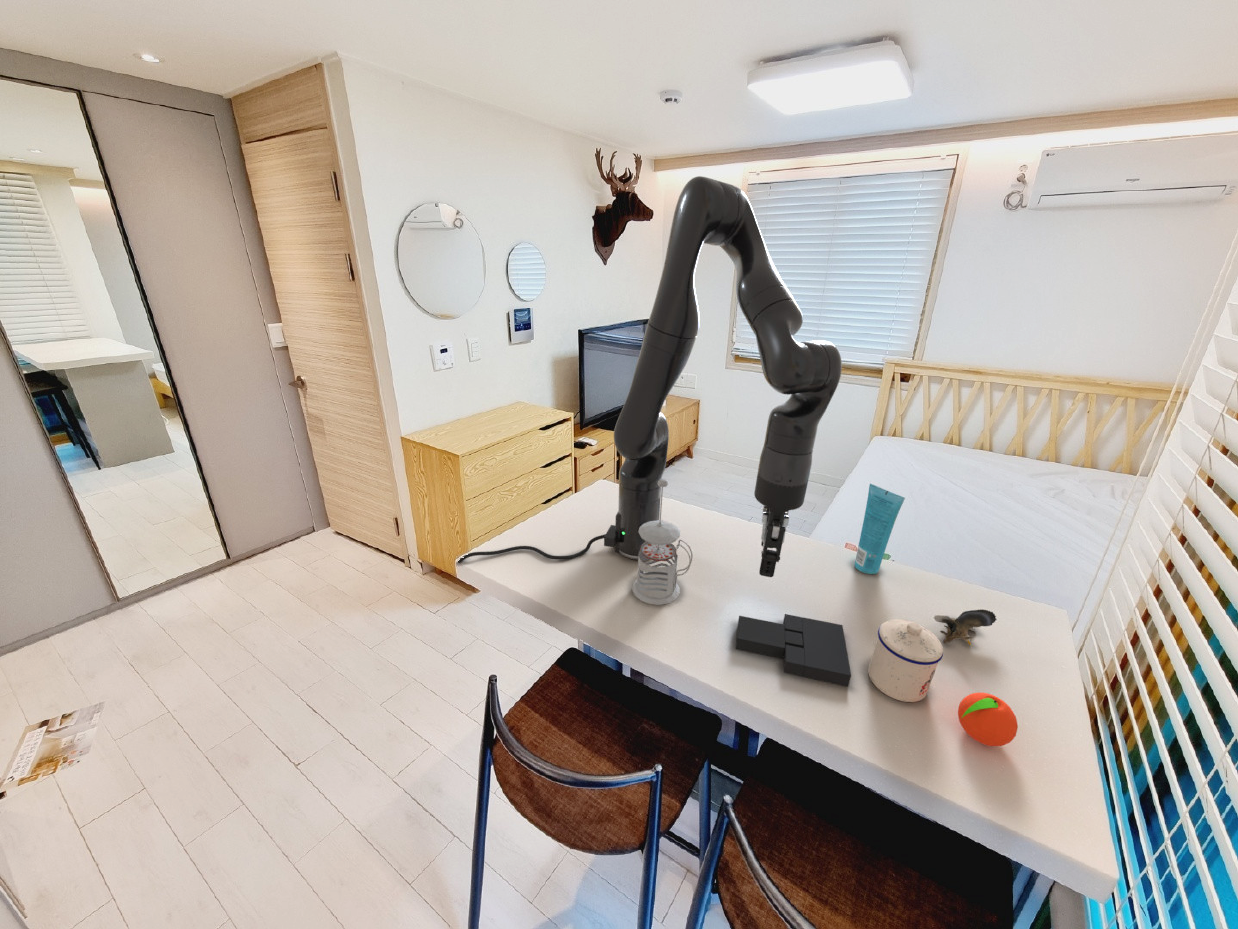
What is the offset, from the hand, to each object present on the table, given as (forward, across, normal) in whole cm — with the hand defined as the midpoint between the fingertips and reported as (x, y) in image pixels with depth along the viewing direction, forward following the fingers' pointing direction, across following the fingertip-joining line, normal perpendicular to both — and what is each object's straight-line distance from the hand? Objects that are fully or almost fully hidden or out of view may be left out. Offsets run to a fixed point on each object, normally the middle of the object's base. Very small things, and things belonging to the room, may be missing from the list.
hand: (766, 560), depth 84 cm
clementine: (+16, -11, -32) cm, 38 cm away
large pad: (+16, -1, -10) cm, 19 cm away
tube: (+17, +29, -23) cm, 41 cm away
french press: (+17, +8, +19) cm, 27 cm away
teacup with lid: (+16, -2, -23) cm, 29 cm away
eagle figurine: (+16, +11, -36) cm, 41 cm away
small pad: (+17, -1, -3) cm, 17 cm away
